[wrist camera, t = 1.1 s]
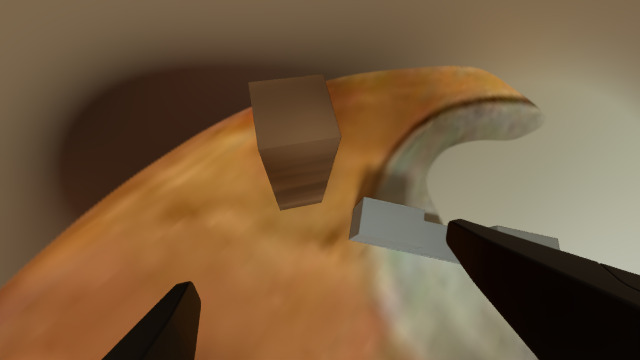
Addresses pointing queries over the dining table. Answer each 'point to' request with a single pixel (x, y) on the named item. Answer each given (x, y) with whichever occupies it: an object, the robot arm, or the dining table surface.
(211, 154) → the dining table surface
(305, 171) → the walnut post
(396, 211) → the notched rail
